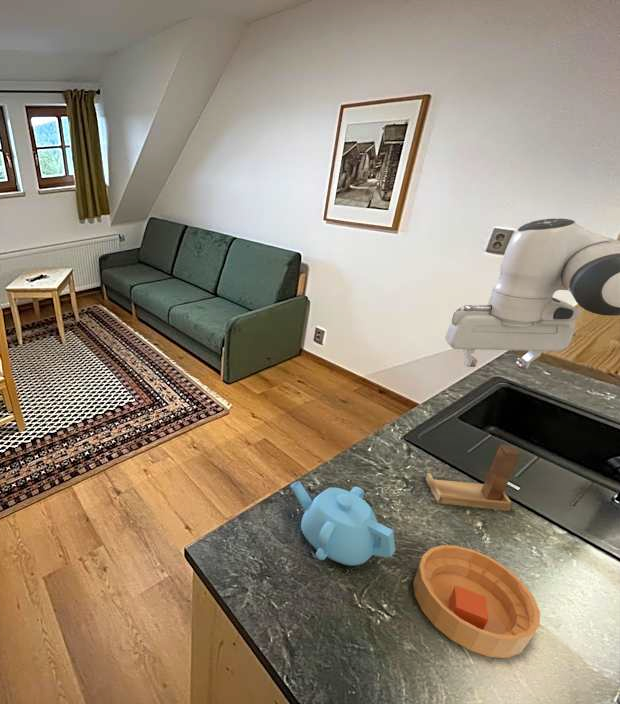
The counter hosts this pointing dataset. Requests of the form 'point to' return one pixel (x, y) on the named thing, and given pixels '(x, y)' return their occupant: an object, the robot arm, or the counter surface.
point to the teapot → (343, 526)
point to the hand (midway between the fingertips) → (494, 366)
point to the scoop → (477, 493)
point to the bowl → (484, 579)
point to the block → (469, 606)
